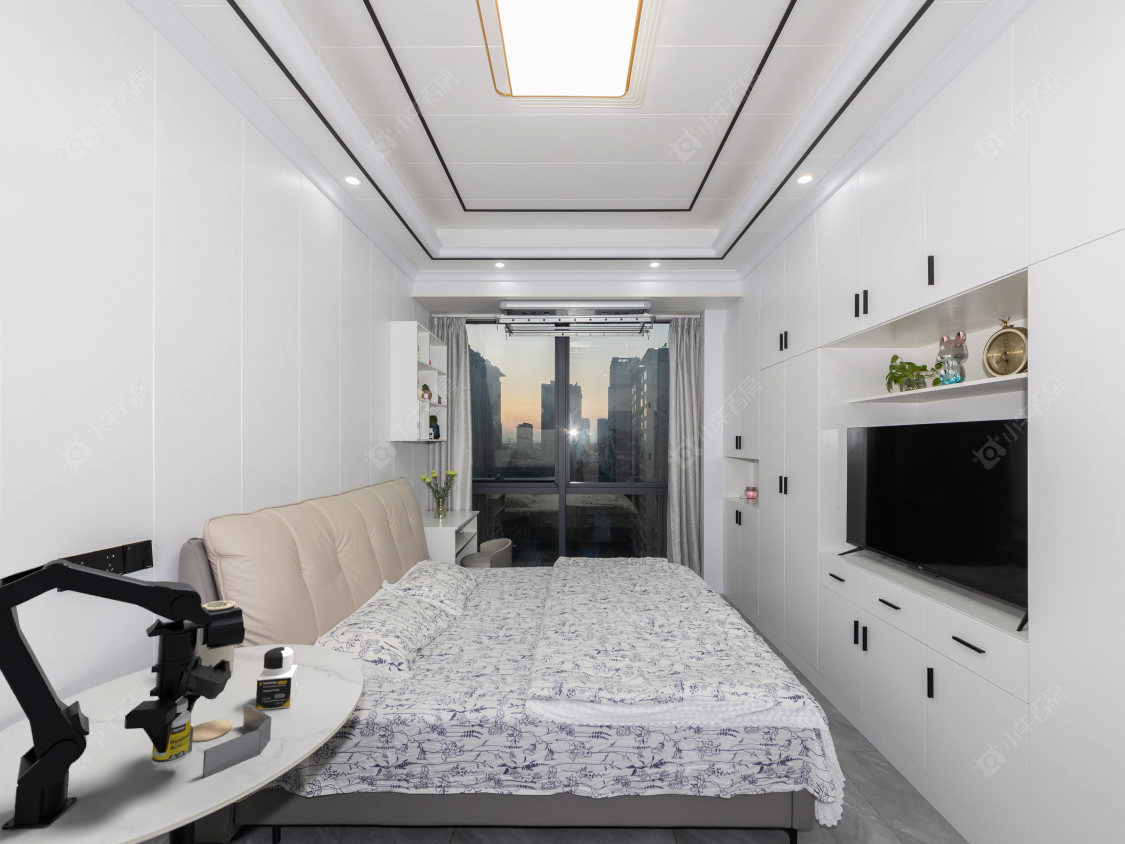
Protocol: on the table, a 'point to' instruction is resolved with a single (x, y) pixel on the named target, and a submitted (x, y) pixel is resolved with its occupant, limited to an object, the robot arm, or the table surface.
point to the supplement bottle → (176, 738)
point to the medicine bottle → (277, 680)
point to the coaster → (211, 730)
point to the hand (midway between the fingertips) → (171, 743)
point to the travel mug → (218, 653)
